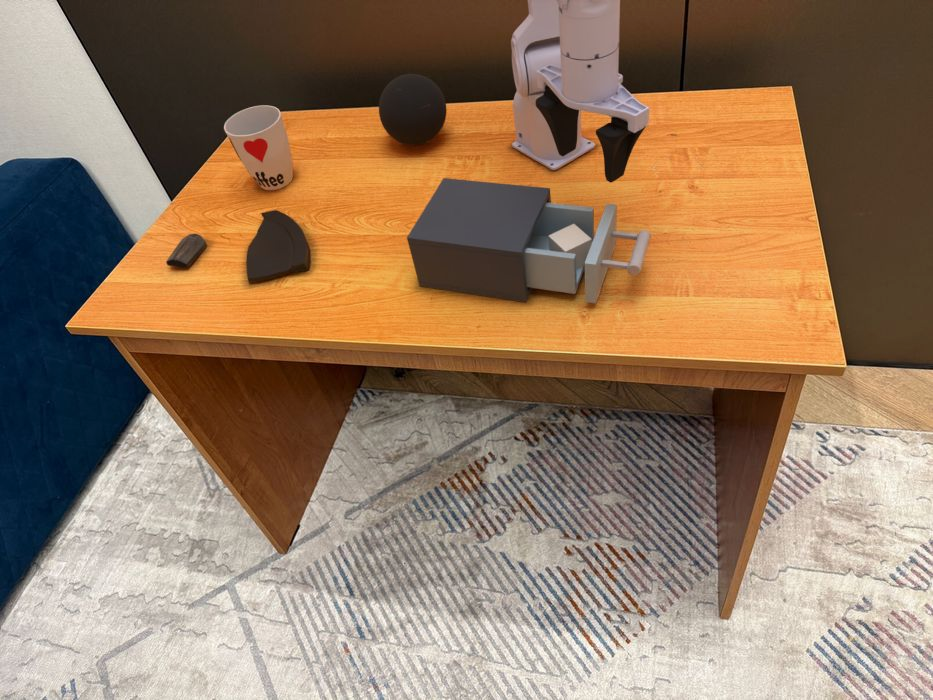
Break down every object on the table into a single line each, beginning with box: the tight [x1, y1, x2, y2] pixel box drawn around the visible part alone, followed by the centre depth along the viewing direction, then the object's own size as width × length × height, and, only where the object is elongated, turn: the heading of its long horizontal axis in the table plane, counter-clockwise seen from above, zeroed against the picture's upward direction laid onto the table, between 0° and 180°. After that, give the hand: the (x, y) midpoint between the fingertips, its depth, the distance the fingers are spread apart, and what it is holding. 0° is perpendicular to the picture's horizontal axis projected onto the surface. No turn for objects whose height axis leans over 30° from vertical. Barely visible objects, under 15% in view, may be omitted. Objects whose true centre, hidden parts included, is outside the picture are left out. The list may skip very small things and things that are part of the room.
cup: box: [223, 104, 294, 191], centre depth 101 cm, size 8×8×10 cm
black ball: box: [378, 73, 448, 146], centre depth 103 cm, size 10×10×10 cm
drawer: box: [523, 202, 652, 304], centre depth 79 cm, size 17×10×6 cm, turn 70°
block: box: [165, 233, 208, 269], centre depth 95 cm, size 4×6×2 cm, turn 170°
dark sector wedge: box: [245, 209, 312, 284], centre depth 93 cm, size 8×14×2 cm, turn 9°
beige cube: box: [548, 224, 592, 270], centre depth 79 cm, size 4×4×4 cm
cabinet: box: [406, 177, 552, 303], centre depth 83 cm, size 14×12×8 cm
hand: (590, 164), depth 78 cm, fingers open, 7 cm apart
